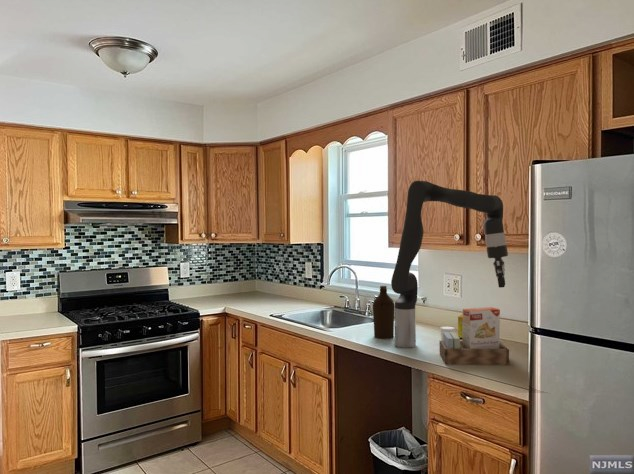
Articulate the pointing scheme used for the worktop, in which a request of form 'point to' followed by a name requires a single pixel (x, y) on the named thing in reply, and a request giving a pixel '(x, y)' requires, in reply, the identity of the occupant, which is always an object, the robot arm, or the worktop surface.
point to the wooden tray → (475, 355)
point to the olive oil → (383, 315)
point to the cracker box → (481, 328)
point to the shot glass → (446, 330)
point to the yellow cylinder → (460, 326)
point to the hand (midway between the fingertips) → (502, 286)
